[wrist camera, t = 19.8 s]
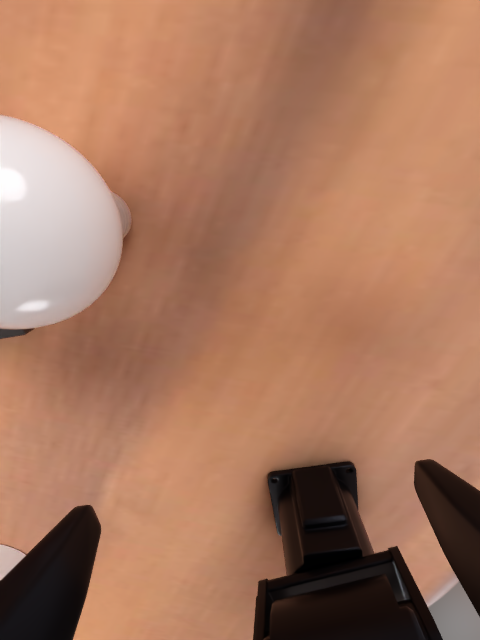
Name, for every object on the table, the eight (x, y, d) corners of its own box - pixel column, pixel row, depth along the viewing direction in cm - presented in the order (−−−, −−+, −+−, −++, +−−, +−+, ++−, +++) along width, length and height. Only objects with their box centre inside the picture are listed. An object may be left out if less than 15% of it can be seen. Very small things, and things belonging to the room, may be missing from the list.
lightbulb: (182, 176, 17) (87, 144, 7) (153, 287, 19) (50, 394, 9) (60, 132, 16) (-258, 18, 6) (45, 253, 18) (-207, 323, 8)
